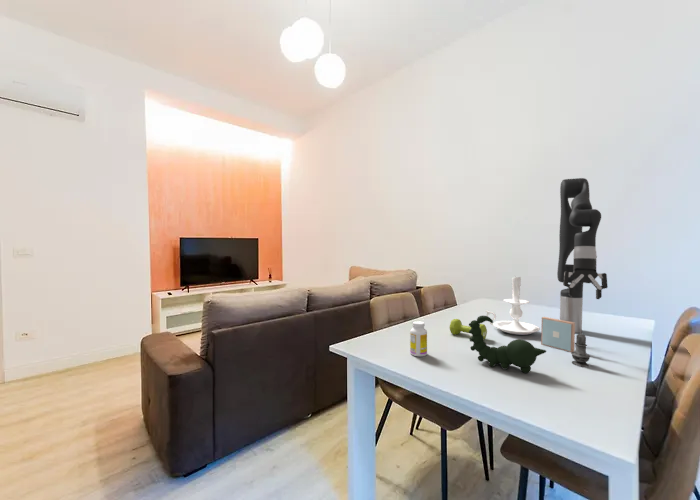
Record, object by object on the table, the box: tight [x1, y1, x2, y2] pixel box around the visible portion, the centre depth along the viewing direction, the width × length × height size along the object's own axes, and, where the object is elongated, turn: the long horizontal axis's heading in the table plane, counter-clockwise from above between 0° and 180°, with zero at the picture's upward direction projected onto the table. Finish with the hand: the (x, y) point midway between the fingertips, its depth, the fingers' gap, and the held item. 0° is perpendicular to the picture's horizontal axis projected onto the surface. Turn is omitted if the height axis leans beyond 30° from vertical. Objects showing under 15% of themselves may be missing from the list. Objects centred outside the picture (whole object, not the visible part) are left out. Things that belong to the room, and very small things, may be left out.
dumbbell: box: [448, 318, 488, 340], centre depth 152 cm, size 16×8×7 cm, turn 41°
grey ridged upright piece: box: [570, 331, 591, 368], centre depth 119 cm, size 6×6×12 cm
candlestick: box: [485, 275, 541, 336], centre depth 160 cm, size 21×25×28 cm
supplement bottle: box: [409, 320, 428, 358], centre depth 129 cm, size 7×7×13 cm
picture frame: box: [540, 316, 576, 353], centre depth 136 cm, size 2×12×12 cm, turn 34°
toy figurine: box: [468, 315, 547, 374], centre depth 116 cm, size 9×19×25 cm
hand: (584, 298), depth 129 cm, fingers open, 8 cm apart
